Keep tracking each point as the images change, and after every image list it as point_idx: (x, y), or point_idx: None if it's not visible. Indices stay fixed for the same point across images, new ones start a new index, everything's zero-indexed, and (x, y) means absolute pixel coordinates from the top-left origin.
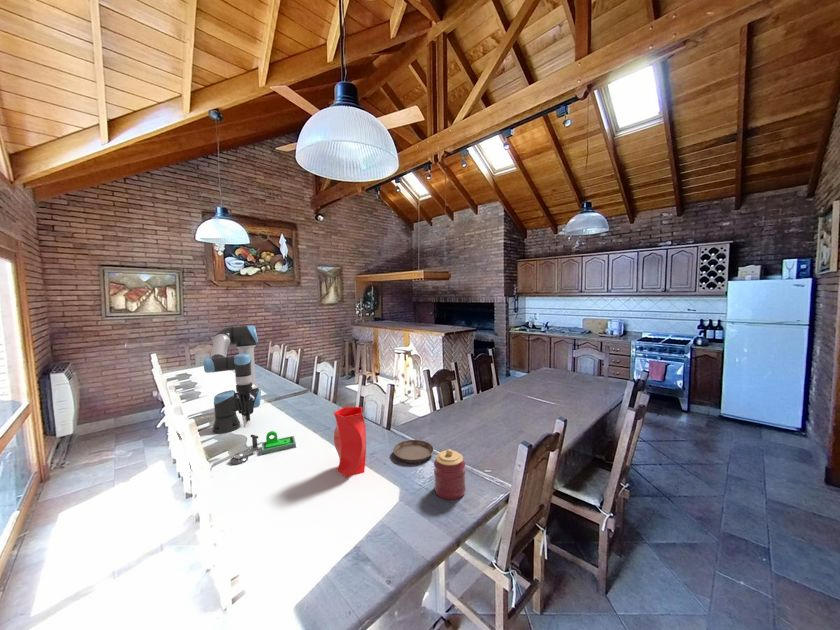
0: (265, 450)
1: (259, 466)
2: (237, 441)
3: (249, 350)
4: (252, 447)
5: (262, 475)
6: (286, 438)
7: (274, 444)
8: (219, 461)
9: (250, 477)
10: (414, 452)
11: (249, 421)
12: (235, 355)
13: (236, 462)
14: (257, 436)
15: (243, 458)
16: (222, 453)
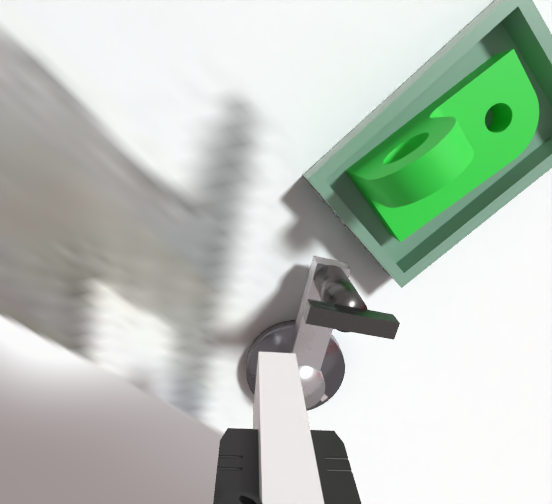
0: (416, 272)
1: (457, 380)
2: (14, 138)
3: None
4: (315, 289)
5: (523, 434)
6: (470, 47)
7: (440, 190)
8: (180, 394)
9: (474, 458)
10: None
11: (302, 397)
12: None
13: (317, 405)
14: (396, 328)
15: (324, 365)
16: (99, 319)
